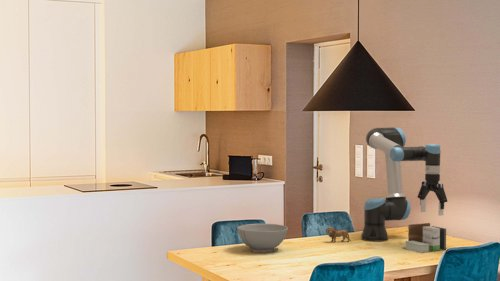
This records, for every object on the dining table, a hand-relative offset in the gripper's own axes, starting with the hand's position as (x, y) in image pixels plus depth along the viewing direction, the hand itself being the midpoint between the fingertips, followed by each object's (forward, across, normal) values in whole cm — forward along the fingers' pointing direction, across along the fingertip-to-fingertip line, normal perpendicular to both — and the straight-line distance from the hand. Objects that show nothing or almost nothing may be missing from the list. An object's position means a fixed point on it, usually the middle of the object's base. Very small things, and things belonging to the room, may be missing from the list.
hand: (431, 213), depth 381 cm
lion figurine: (+20, -44, -28) cm, 57 cm away
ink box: (+19, 0, 0) cm, 19 cm away
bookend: (+19, -1, +6) cm, 20 cm away
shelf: (+20, -3, -2) cm, 20 cm away
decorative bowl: (+20, -44, -78) cm, 91 cm away
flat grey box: (+19, -1, -9) cm, 21 cm away
